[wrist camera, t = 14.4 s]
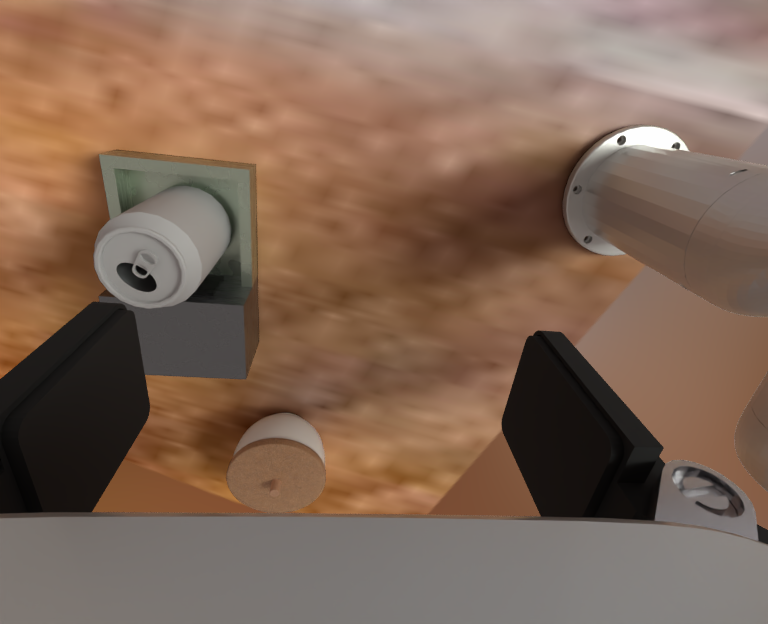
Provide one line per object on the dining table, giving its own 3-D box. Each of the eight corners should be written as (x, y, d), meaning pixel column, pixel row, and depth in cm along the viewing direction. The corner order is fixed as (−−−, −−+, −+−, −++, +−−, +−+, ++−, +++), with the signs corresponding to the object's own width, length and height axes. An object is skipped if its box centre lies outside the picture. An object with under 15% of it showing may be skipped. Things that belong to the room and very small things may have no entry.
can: (136, 229, 41) (62, 279, 30) (176, 165, 39) (111, 195, 28) (208, 275, 43) (163, 335, 33) (249, 218, 41) (215, 263, 31)
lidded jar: (301, 473, 58) (294, 537, 49) (226, 442, 54) (205, 506, 46) (344, 419, 54) (343, 479, 46) (266, 383, 51) (250, 441, 42)
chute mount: (255, 164, 39) (238, 178, 33) (259, 341, 48) (246, 379, 42) (116, 149, 38) (71, 161, 32) (145, 335, 47) (114, 373, 40)
